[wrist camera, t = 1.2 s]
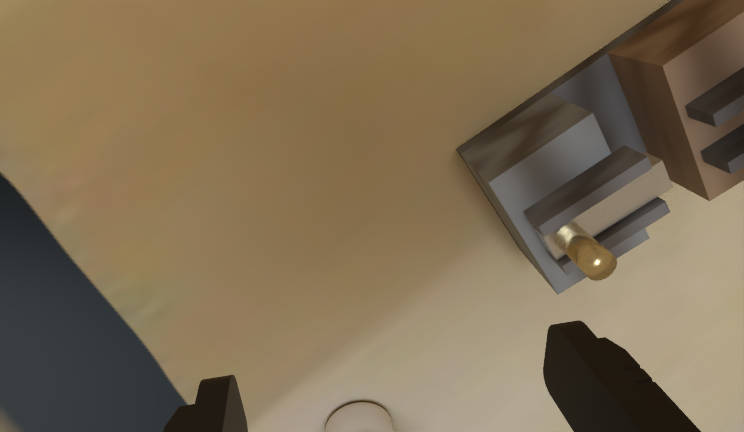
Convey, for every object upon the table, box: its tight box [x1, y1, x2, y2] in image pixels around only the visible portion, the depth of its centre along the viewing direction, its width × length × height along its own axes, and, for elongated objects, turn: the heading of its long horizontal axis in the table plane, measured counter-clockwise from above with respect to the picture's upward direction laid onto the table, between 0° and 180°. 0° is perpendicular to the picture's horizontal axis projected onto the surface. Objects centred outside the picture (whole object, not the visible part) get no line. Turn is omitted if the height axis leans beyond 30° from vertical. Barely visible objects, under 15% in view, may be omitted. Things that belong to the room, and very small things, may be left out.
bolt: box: [532, 152, 673, 280], centre depth 31 cm, size 9×2×6 cm, turn 125°
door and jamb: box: [457, 0, 744, 294], centre depth 36 cm, size 20×12×10 cm, turn 125°
